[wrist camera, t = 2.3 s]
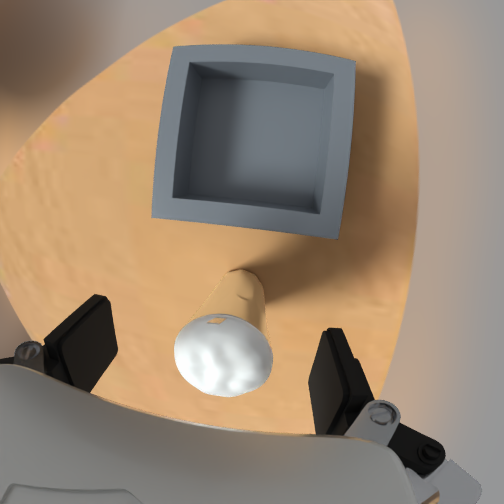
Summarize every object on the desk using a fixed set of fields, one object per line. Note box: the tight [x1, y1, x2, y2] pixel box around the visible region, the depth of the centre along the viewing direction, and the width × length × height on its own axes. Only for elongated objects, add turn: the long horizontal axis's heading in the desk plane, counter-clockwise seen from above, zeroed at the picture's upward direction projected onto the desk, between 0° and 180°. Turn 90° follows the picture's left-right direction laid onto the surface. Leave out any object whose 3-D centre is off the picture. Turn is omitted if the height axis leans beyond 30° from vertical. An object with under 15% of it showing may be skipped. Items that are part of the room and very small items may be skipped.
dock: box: [152, 45, 356, 240], centre depth 15 cm, size 10×10×4 cm
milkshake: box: [174, 269, 273, 397], centre depth 15 cm, size 4×5×10 cm
